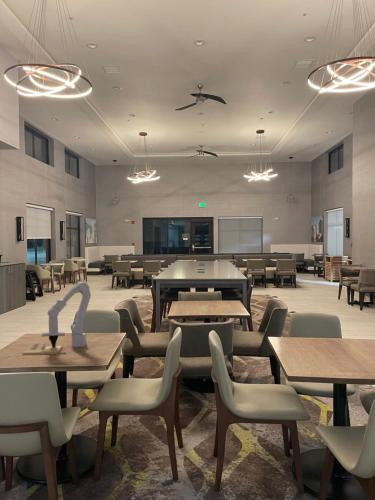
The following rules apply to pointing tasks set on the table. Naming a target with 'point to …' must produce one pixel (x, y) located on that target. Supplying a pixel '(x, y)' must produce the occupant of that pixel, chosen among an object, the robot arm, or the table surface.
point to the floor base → (41, 352)
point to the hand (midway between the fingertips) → (53, 347)
